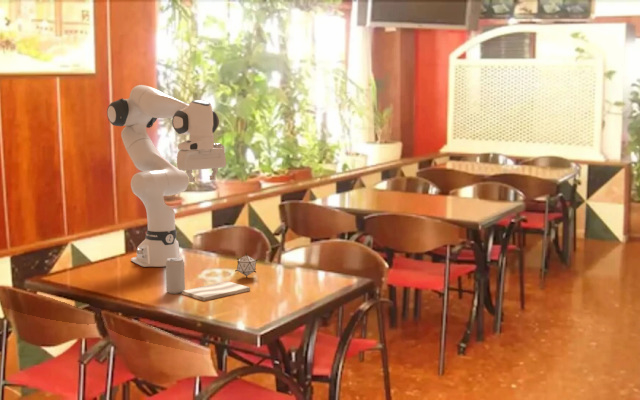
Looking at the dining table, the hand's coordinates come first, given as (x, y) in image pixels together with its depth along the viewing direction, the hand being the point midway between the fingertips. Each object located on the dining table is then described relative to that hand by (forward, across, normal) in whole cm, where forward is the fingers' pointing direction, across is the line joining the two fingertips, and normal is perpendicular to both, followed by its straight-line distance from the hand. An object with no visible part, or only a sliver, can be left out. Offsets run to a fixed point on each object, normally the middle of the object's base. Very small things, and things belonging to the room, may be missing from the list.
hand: (202, 181), depth 287 cm
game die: (+37, -11, +12) cm, 41 cm away
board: (+37, +10, +21) cm, 44 cm away
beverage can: (+37, +20, +11) cm, 44 cm away
